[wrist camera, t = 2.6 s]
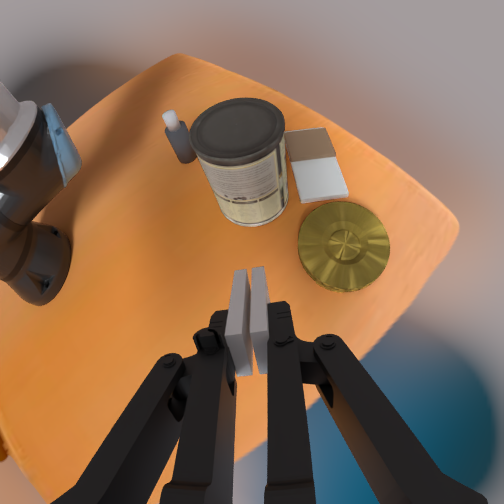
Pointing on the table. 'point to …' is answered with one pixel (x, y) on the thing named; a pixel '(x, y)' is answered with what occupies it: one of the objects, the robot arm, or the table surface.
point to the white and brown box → (314, 165)
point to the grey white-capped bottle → (179, 137)
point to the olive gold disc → (343, 246)
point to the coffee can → (243, 158)
